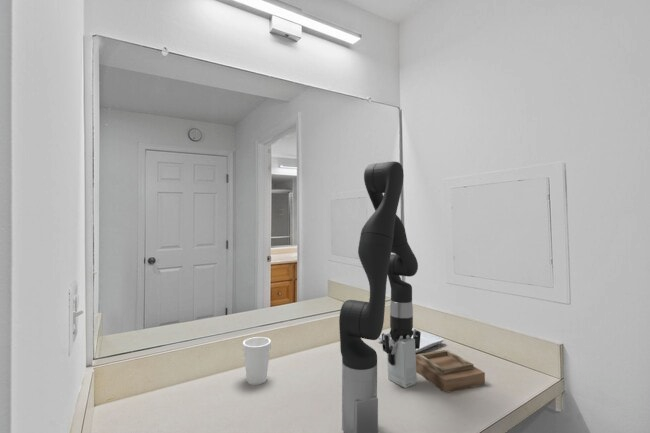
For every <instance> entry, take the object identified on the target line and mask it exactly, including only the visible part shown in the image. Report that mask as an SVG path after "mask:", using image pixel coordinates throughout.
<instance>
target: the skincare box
mask: <svg viewBox="0 0 650 433" xmlns="http://www.w3.org/2000/svg"><path fill="white" fill-rule="evenodd" d="M396 341H397V340H396ZM390 342H391V343H392V344H394V345H395V343H396V342H394V340H392V338H391V337H390V341H389V346H390ZM392 348H393V346H392ZM416 354H417V353H416V352H415V339H413V338H410V339H406V338H405V339H402V340H399V341H398V348H397V349H396V351H395V353H394V355H395V365H393V366H392V365H391V364H390V363H389V362H388V354H387V353H386V357H387V358H386V359H387V360H386V361H387V379H388V380H389V381H391V382H393V383H395V384H397V385H399V386H401V387H403V388H404V389H406V388H408V387H411V386H414V385H417V383H418V382H417V381H418V380H417V379H418V378H417V372H416Z"/></svg>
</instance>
